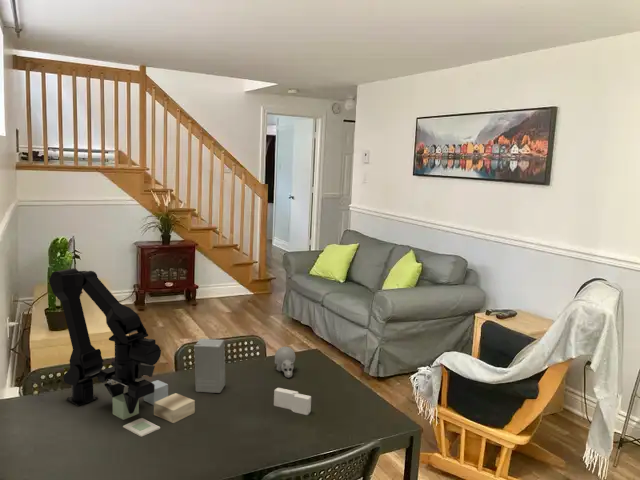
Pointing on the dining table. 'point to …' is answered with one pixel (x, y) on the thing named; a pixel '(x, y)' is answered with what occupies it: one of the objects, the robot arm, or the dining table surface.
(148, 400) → the blue-grey cube
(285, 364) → the round bodied animal figurine
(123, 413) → the sage cube
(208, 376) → the skincare box
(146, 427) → the card
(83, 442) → the dining table surface
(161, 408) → the birch block
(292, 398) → the white stepped block
